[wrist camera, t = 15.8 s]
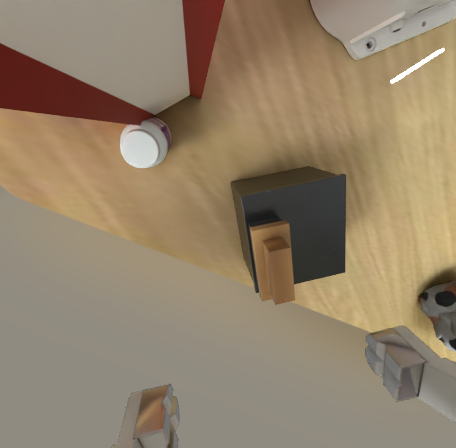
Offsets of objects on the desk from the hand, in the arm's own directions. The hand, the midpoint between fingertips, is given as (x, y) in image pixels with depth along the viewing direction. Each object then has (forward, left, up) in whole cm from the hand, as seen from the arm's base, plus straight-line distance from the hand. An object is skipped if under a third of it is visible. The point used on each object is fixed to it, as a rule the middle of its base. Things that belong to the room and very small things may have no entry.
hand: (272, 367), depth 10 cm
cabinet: (-9, +6, -31) cm, 33 cm away
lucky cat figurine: (-45, +34, -31) cm, 64 cm away
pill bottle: (+7, -10, -31) cm, 33 cm away
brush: (-5, +7, -21) cm, 23 cm away
